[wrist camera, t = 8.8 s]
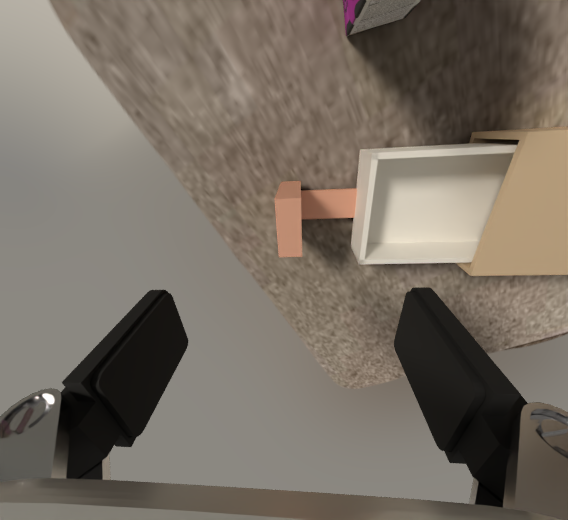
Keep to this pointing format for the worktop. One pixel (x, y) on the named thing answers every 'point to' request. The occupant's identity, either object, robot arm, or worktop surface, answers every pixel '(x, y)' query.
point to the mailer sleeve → (527, 207)
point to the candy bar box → (374, 13)
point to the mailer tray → (405, 203)
